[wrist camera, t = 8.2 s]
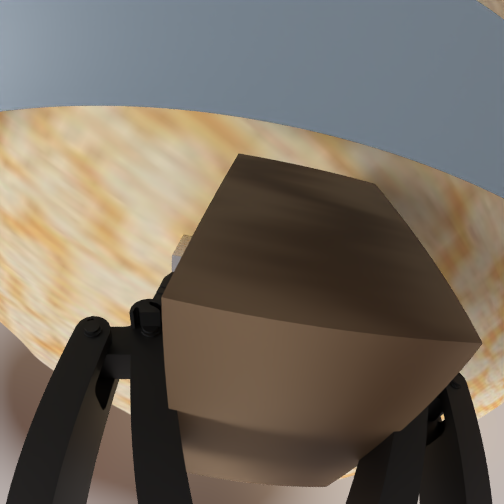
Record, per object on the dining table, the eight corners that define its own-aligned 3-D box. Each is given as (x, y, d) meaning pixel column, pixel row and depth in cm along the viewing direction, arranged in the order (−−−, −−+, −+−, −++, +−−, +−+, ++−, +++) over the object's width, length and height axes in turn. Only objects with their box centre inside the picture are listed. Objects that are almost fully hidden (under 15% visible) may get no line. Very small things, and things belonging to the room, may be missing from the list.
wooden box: (213, 327, 19) (178, 475, 11) (238, 153, 13) (161, 297, 5) (312, 344, 19) (318, 491, 11) (374, 184, 13) (482, 343, 5)
